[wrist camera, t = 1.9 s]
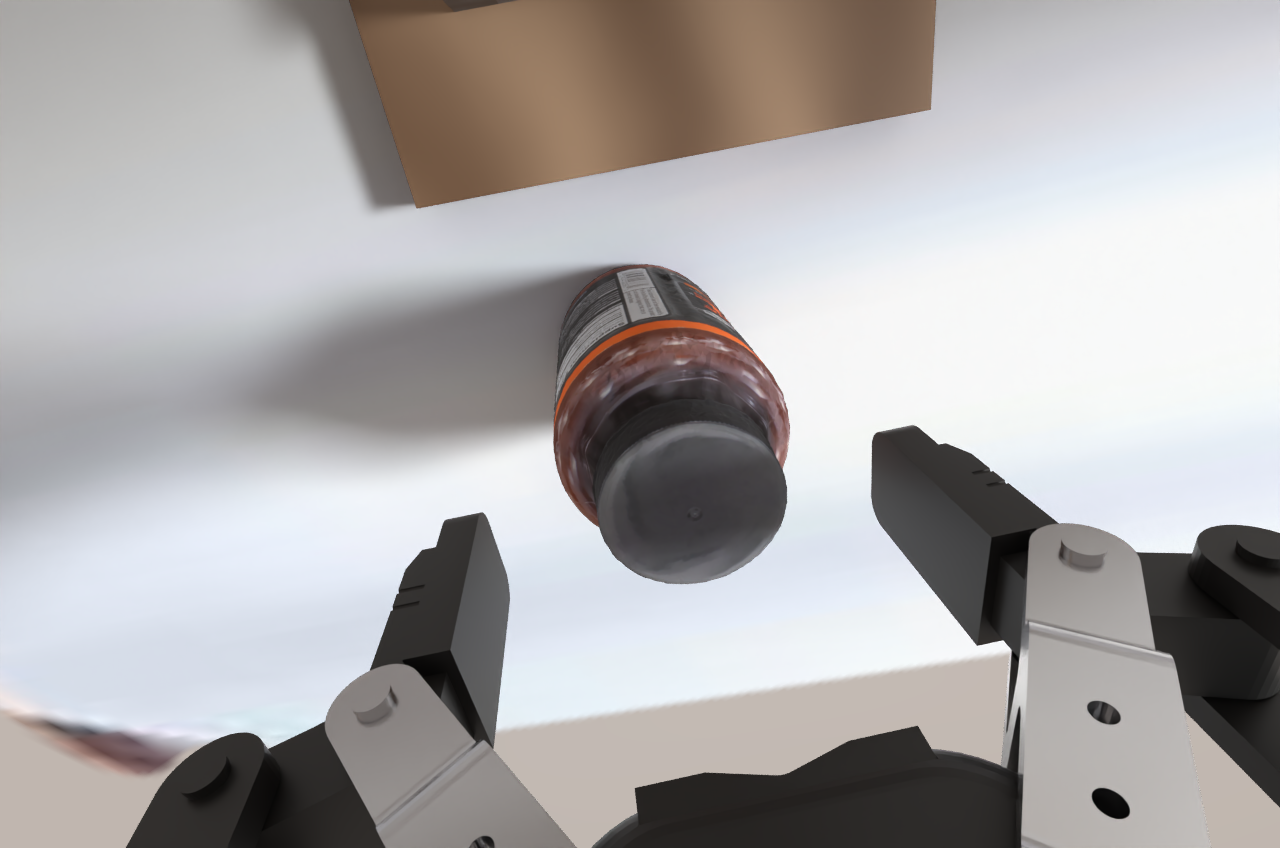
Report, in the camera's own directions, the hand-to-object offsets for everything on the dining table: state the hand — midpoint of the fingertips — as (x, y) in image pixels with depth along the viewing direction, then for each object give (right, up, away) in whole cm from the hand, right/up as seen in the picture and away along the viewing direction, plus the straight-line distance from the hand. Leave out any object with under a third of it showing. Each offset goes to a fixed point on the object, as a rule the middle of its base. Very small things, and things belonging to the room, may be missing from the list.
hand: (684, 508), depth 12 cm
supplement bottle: (-1, +5, +10) cm, 11 cm away
